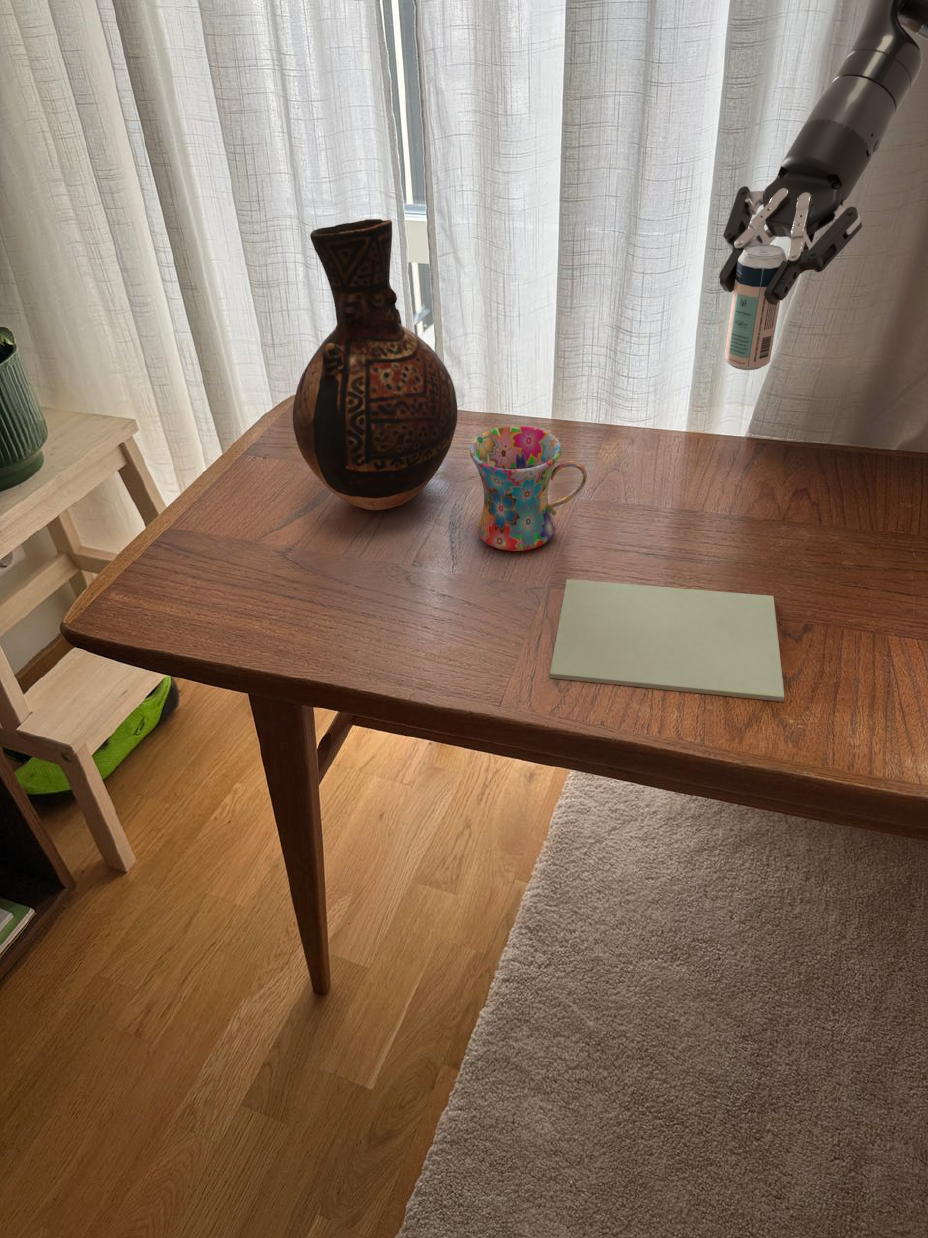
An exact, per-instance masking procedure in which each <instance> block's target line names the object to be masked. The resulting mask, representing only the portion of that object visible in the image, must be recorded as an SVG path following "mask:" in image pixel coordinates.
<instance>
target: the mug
mask: <svg viewBox="0 0 928 1238" xmlns="http://www.w3.org/2000/svg"><path fill="white" fill-rule="evenodd" d="M469 454H470V458H471V459H472V461H473V463H474V465H475V467H476V469H477V471H478V474H479V477H480V480H481V482H482V483H481V484H482V490H483V509H482V513H481V516H480V518H479V519H478V520H477V524H476V531H477V534H478V536H479V538H480V539H481V540H482V541H483V542H484V543H486V544H487V545H489V546H491V547H492V548H495V549H498V550H502V551H508V552H523V551H529V550H533V549H536V548H539V547H541V546H543V545H544V544H546V543H548V541H550V540H551V538H552V537H553V536H554V534H555V531H556V522H555V520H554V518H553V516H556V515H557V511H556V509H554V508H556V507H559V506H561V505H564V504H565V503H567V502H569V501H570V500H572V499H573V498H575V497H576V496H577V495H578V494H579V493H580V492H581V491H582V489H583V488H584V486H585V484H586V482H587V478H588V472H587V469H586V468H585V466H584V465H583V464H582V463H580V462H577V461H574V460H567V461H563V462H561V463H559V464H558V465H557V462H558V461H559V458H560V457H561V454H562V445H561V442H560V441H559V439H558V438H557V437H556V436H555V435H553V434H552V433H550V432H548V431H546V430H544V429H540V428H537V427H532V426H523V425H512V426H504V427H503V426H502V427H498V428H494V429H491V430H488V431H485V432H483V433H481V434H480V435H478V436H477V437H476V438H475V439H473V441H472V442H471V444H470V447H469ZM568 467H572V468H576V469H578V470H579V471H580V473H582V480H581V481H580V483H579V484H578V485H577V487H576V488H575V489H574V490H573V491H572V492H571V493H569V494H568V495H566V496H565V497H562V498H560V499H558V500H556V501H552V502H550V503H549V499H548V494H549V486H550V481H554V479H555V477H556V474H557V473H558V472H559V471H561V469H564V468H568Z"/></svg>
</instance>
